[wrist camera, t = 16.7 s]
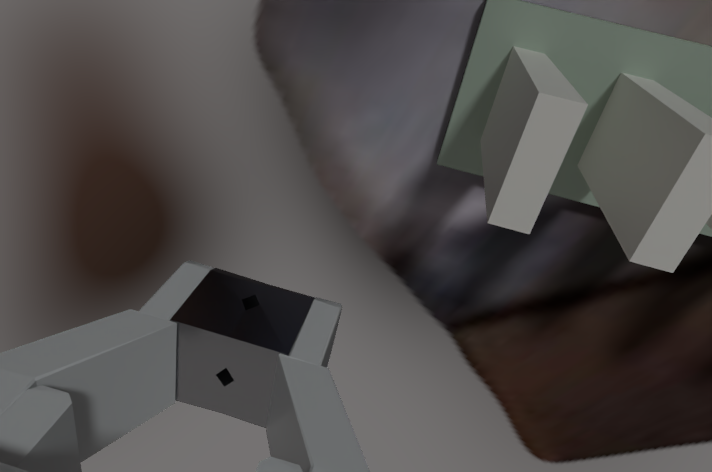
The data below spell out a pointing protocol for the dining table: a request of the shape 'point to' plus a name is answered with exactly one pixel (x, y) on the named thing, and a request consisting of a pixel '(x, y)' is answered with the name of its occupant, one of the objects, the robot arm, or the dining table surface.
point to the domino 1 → (527, 138)
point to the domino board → (568, 77)
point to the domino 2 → (651, 171)
